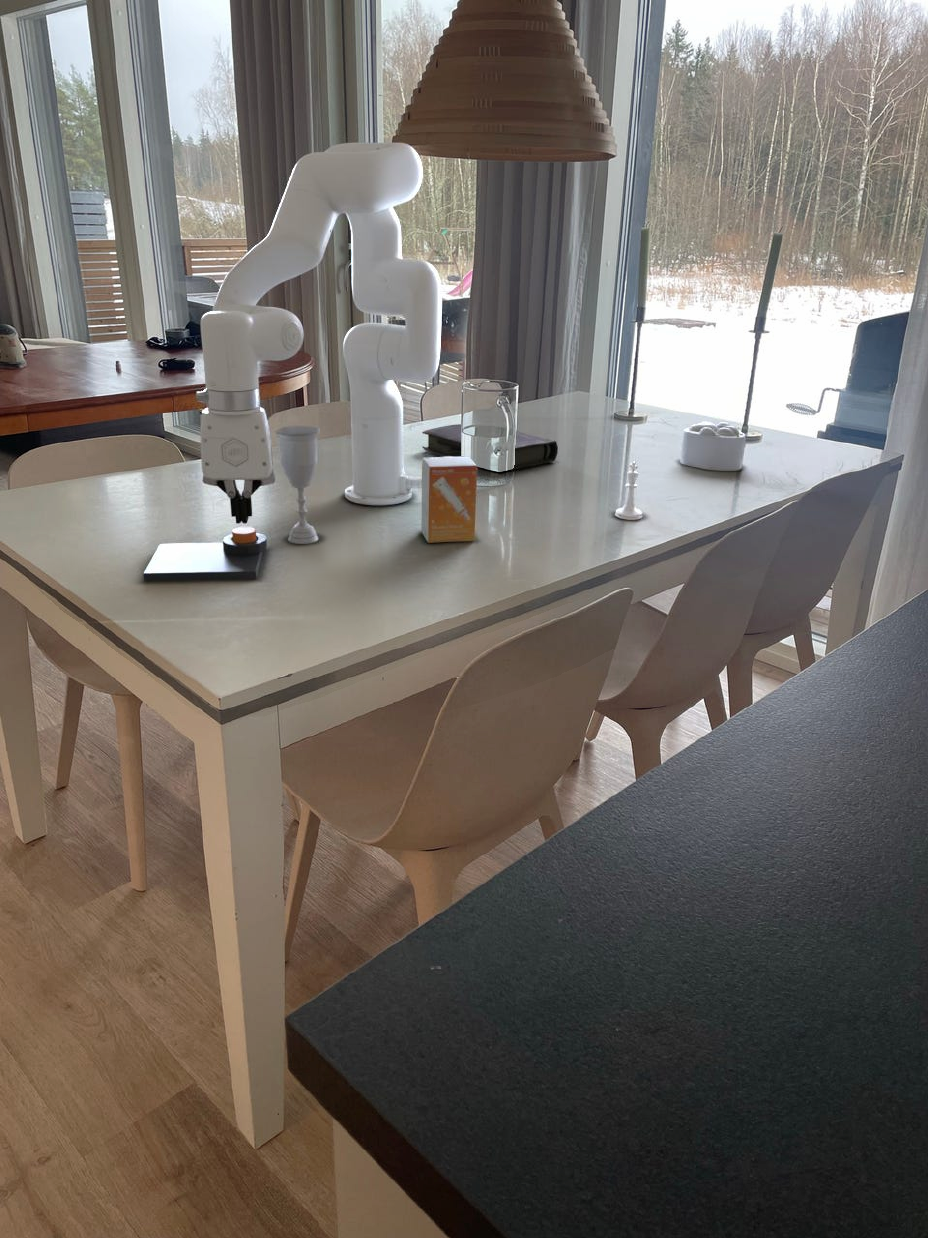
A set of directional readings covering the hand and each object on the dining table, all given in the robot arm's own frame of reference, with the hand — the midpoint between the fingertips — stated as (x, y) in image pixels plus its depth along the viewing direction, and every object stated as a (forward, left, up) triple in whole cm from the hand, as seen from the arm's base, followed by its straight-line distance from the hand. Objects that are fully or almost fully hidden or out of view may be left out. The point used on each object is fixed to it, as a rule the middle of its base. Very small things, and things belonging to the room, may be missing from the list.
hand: (242, 520), depth 143 cm
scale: (+5, +3, -6) cm, 9 cm away
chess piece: (-67, -18, -6) cm, 69 cm away
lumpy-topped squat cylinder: (-96, -54, -6) cm, 110 cm away
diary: (-47, -62, -6) cm, 78 cm away
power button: (0, 0, -3) cm, 3 cm away
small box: (-33, -8, -6) cm, 34 cm away
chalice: (-9, -8, -6) cm, 13 cm away
